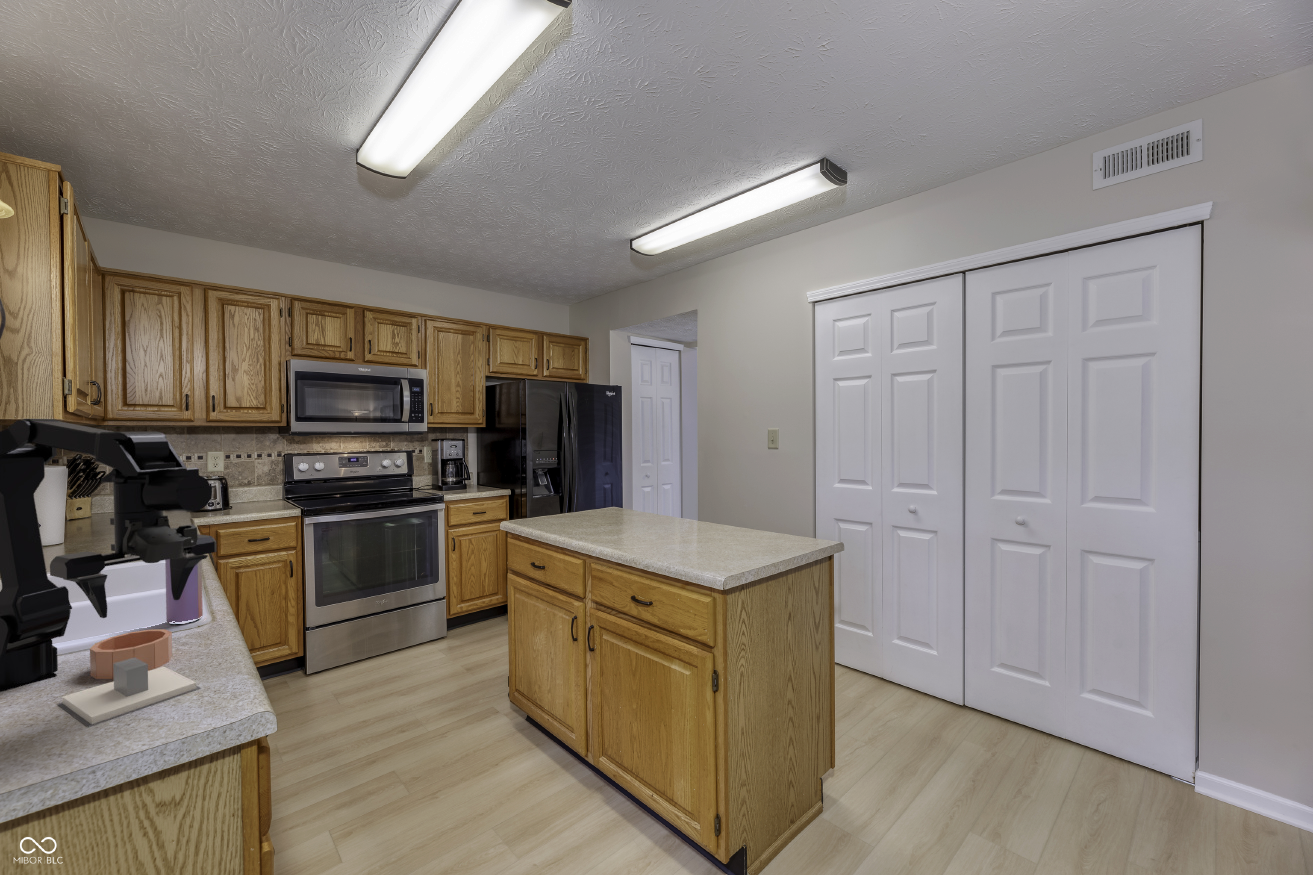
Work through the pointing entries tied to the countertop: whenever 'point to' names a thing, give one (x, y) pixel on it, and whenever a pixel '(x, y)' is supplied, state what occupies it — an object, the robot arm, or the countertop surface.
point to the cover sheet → (116, 702)
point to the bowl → (131, 651)
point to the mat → (115, 716)
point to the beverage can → (185, 596)
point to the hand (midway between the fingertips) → (141, 608)
